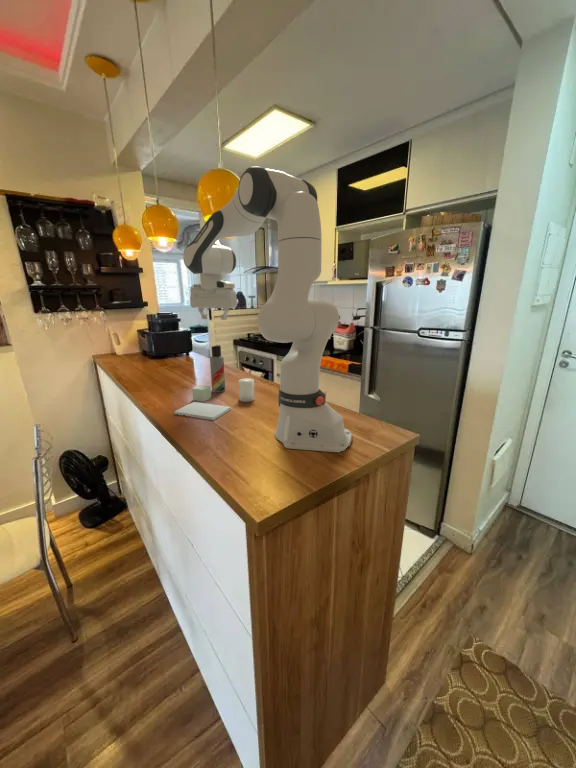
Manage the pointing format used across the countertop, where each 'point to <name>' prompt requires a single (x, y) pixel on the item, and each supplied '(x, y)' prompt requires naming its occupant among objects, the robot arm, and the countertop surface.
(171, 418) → the countertop surface
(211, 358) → the lotion bottle
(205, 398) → the sage block
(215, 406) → the tray
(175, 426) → the countertop surface
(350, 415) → the countertop surface
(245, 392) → the white rounded cylinder
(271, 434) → the countertop surface
